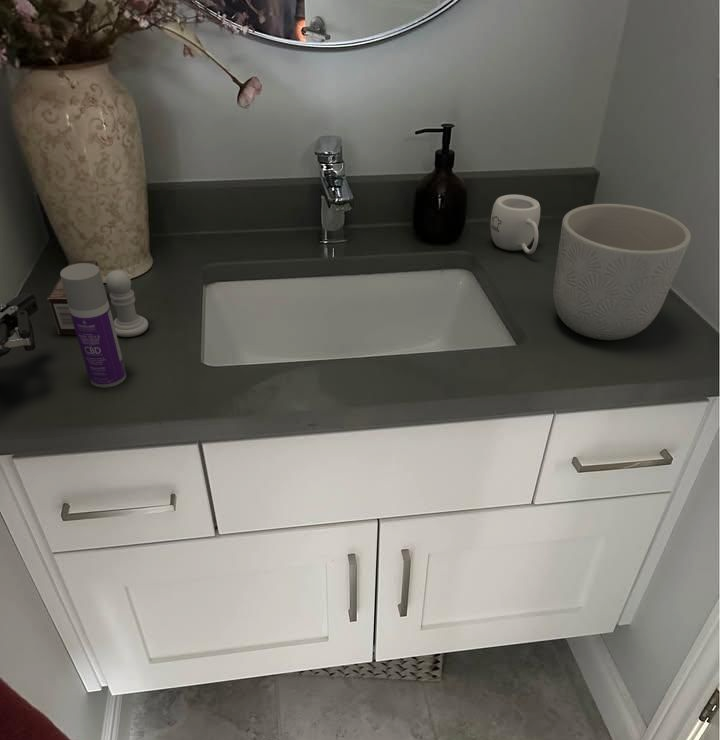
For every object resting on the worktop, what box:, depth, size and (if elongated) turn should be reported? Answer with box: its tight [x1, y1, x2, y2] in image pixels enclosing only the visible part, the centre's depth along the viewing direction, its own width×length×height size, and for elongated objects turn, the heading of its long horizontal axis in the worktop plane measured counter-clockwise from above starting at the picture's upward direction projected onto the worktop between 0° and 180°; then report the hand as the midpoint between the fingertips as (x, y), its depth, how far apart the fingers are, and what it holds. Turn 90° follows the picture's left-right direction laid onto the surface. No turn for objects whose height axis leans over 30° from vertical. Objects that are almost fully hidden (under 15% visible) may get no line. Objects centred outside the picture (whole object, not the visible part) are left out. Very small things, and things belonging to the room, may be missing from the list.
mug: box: [489, 194, 541, 255], centre depth 122 cm, size 12×8×8 cm
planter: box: [552, 203, 692, 341], centre depth 100 cm, size 17×17×15 cm
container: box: [59, 263, 127, 389], centre depth 87 cm, size 5×5×15 cm
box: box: [47, 260, 99, 336], centre depth 102 cm, size 6×4×12 cm
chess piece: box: [105, 269, 149, 338], centre depth 98 cm, size 5×5×9 cm
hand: (30, 300), depth 91 cm, fingers closed
